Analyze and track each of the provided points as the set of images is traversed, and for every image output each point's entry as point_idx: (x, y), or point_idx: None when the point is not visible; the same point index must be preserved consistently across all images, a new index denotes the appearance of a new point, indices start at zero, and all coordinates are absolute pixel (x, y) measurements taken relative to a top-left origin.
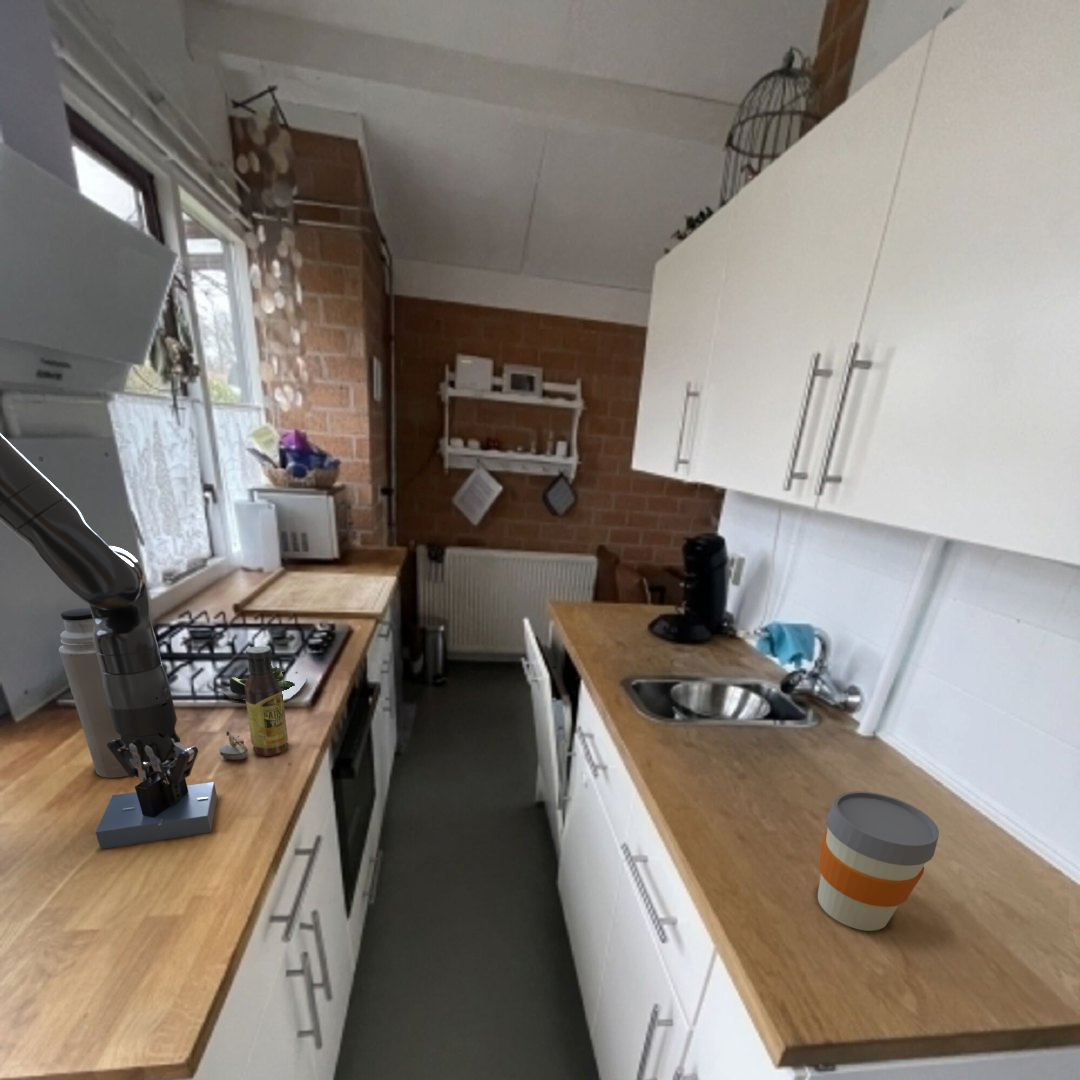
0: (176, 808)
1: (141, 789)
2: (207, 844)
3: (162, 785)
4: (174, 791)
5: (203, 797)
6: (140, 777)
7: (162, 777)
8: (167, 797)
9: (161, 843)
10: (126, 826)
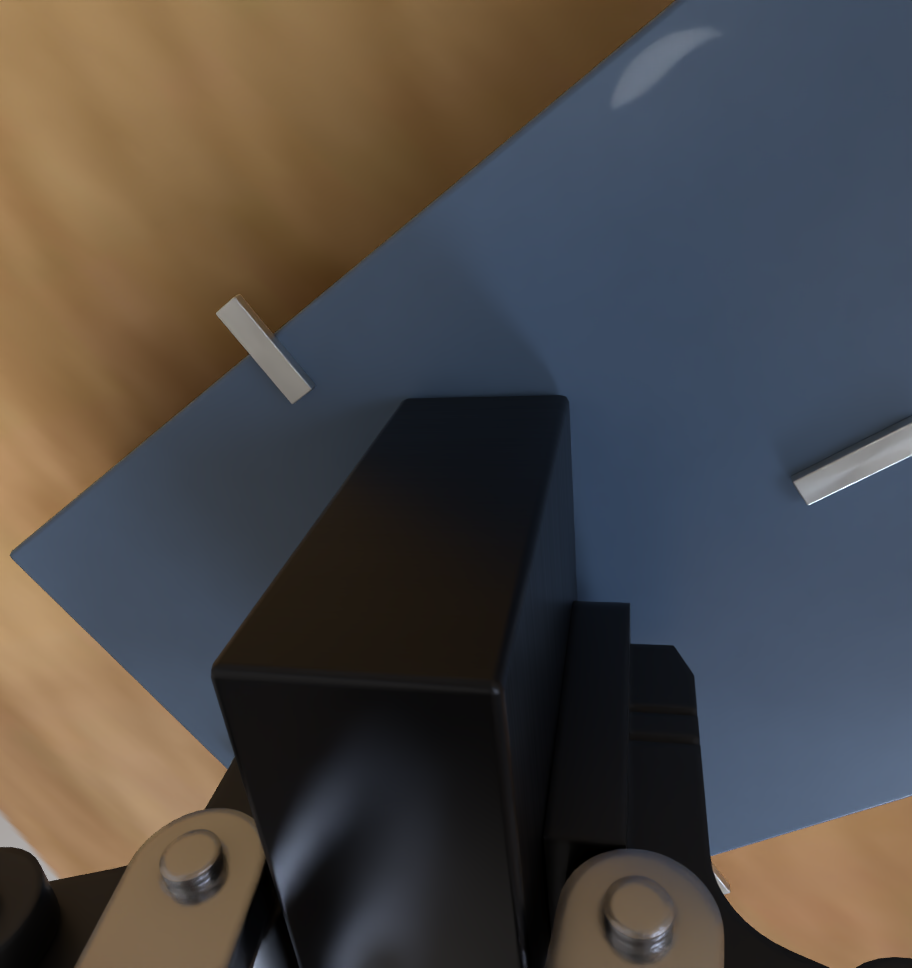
0: None
1: (343, 644)
2: (7, 336)
3: None
4: None
5: None
6: (693, 951)
7: (158, 965)
8: None
9: (328, 223)
10: (572, 127)
